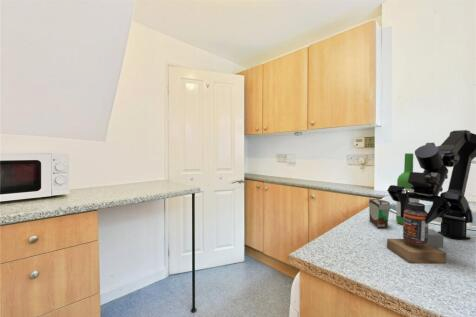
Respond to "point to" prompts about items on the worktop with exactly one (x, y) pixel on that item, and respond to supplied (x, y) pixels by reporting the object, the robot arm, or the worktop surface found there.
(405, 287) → the worktop surface
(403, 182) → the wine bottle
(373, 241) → the worktop surface
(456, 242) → the worktop surface
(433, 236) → the slate block
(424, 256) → the walnut block
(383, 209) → the food container
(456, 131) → the robot arm
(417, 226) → the supplement bottle
